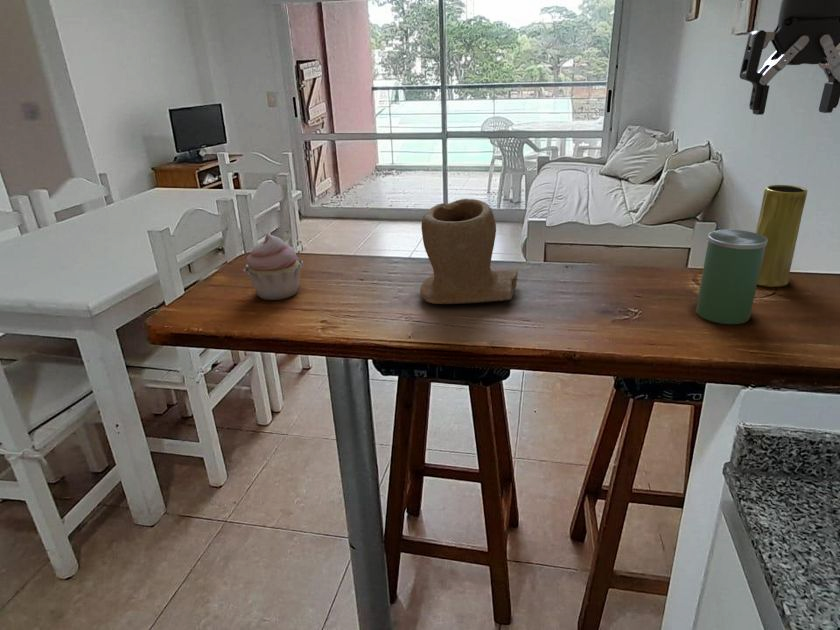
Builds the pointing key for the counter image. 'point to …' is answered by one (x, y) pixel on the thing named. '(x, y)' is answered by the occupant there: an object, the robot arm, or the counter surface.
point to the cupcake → (274, 269)
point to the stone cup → (463, 255)
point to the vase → (779, 231)
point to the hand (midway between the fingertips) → (791, 113)
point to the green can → (730, 276)
